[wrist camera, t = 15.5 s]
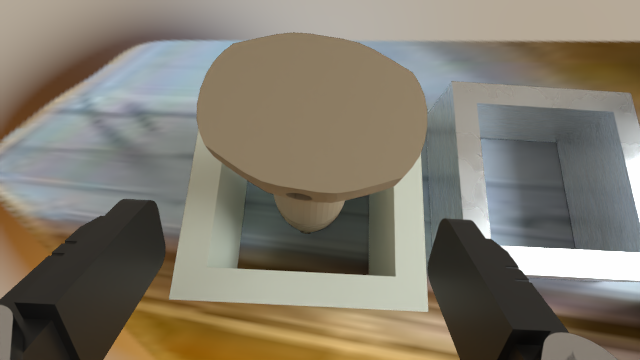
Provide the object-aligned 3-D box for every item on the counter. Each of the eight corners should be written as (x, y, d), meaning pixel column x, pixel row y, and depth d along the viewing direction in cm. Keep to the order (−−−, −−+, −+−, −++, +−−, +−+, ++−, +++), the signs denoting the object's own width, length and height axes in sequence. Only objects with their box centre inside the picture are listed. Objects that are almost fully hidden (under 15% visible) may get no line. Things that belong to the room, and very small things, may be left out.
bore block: (425, 117, 26) (452, 81, 21) (571, 126, 26) (630, 93, 22) (433, 272, 22) (467, 271, 18) (602, 281, 23) (680, 282, 18)
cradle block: (234, 128, 25) (207, 73, 18) (388, 138, 25) (417, 87, 19) (211, 292, 22) (168, 299, 15) (390, 301, 22) (428, 311, 15)
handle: (348, 252, 23) (421, 209, 8) (258, 237, 23) (175, 169, 8) (357, 187, 24) (432, 53, 10) (272, 173, 24) (221, 19, 10)
